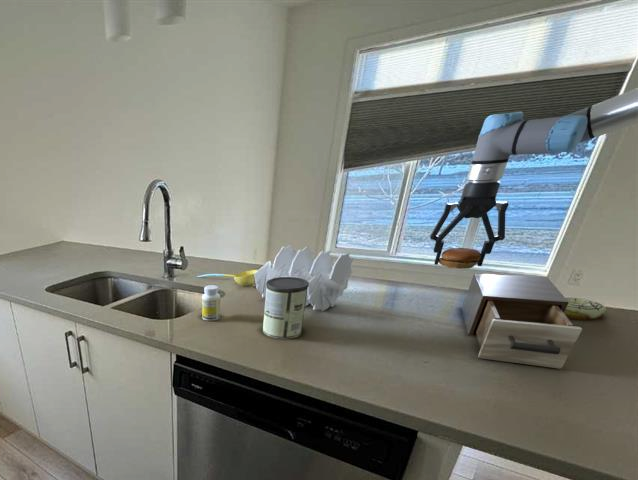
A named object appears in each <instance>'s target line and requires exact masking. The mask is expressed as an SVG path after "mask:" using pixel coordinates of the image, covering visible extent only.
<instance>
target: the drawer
mask: <svg viewBox="0 0 638 480" xmlns="http://www.w3.org/2000/svg"><path fill="white" fill-rule="evenodd" d="M582 331H583V328H582V327H581V326H576V325H575V326H574V324H573V323H572V322H571V320H570V319H569V318H567V317H566V315H565V314H564V313H563V312H562V310H561V309H560V308H559V306H558V305H553V304H540V303H527V302H514V301H500V300H487V299H486V301H485V304H484V306H483V309H482V312H481V314H480V317H479V320H478V322H477V325H476V327H475V332H476V335H477V336H476V338H477V341H478V346H479V348H480V349H479V352H478V354H477V358H478V359H482V360H491V361H500V362H506V363H516V364H523V365H528V366H535V367H536V366H537V367H544V368H552V369H559V370H561V369H563V367H564V365H565V363H566V361H567V359H568V358H569V355H570V353H571V352H572V350H573V348H574V346H575V344H576V343H577V341H578V338H579V336H580V334H582V333H581V332H582Z"/></svg>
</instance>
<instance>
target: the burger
mask: <svg viewBox="0 0 638 480" xmlns="http://www.w3.org/2000/svg"><path fill="white" fill-rule="evenodd" d="M480 258H481V251H479V250H477V249H475V248H469V247H451V248H447V249H446V250H443V252H441V255H440V259H439V262H438V264H440V265H441V266H443V267H445V268H449V269H450V268H451V269H465V270H467V269H471V268H473V267H475V266H476V265H477V263H478V261H479V260H480Z"/></svg>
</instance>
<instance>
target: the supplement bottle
mask: <svg viewBox="0 0 638 480" xmlns="http://www.w3.org/2000/svg"><path fill="white" fill-rule="evenodd" d="M203 289H204V291H203V292H204V293H203V294H202V296H201V319H202V320H204V321H207V322H214V321H215V322H216V321H218V320H219V319H220V317H221V294H220V293H218V292H219V287H218V285H214V284H213V285H212V284H211V285H206V286H204V288H203Z"/></svg>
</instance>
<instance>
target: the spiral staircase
mask: <svg viewBox="0 0 638 480" xmlns="http://www.w3.org/2000/svg"><path fill="white" fill-rule="evenodd" d="M292 247H293V246H292V244H289V245H287V246H282V247H281V248H280V250H279V251H278V253H277V254H276V255H275V256H274V261H273V264H272V263H271V260H268V261H267V262H265V263H264V264H263V265H262V266H261V267H259V268H258V269H257V270H258V271H256V272H255V273H254V277H255V282H254V284H255V285H256V286H255V289H256V290H257V291H258V293H260V295H261V298H266V287H267V286H266V282H267V281H268V280H270V279H274V278H280V277H294V278H300V279H304V280H306V281H308V282H309V286H308V289H307V296H306V304H305V307H306V306H308V305H311V306H312V311H313V310H314V311H315V310H316V311H319V310H321V311H325V310H326V311H327V310H328V309H329V308H330V307H331V308H333V307H335V304H336V302H337V300H338V298H339V297H342V296H343V294H344V291H345V290H347V289H348V285H349V278H350V277H351V275H352V274H353V270H352V263H353V260H354V259H353V258H351V257H350V252H349V251H348V252H346V253H344V254H343V253H340V255H339V256H338V258H337V259H336V260H335V262H334V263H333V261H334V257H332V256H331V255H330V253H331V251H330V250H326V251H324V250H321V251H320V252H319V254H318V255H317V256H316V258H315V259H313V254H314V251H312V250H309V246H305V247H304V248H303V249H298V250H295V249H293V248H292ZM332 264H333V265H332Z"/></svg>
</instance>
